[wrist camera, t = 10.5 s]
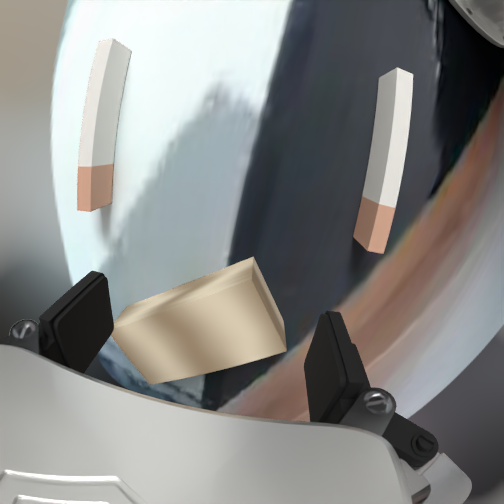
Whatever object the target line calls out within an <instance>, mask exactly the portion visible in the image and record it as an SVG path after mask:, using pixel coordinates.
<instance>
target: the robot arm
mask: <svg viewBox="0 0 504 504" xmlns="http://www.w3.org/2000/svg"><path fill="white" fill-rule="evenodd" d="M449 2H450V3H451V4H452V5H453V7H454V8H455V9H456V10H457V11H458V12H459V14H460V15H461V16H462V17H463V18H464V19H465V20H466V21H467V22H468V23H469V24H470V25H471V26H472V27H473V28H474V29H475V30H476V31H477V32H478V33H479V34H481V35H482V36H483V37H484V38H485V39H487V40H488V41H490V42H491V43H493V44H494V45H496V46H498V47H501V48H504V0H449ZM39 319H40V324H39V325H38V324H37V323H36V322H35V321H34V320H30V319H24V320H21V321H18V322H17V323H15V324H14V325H13V326H12V328H11V330H10V335H9V336H6V337H1V338H0V504H462V503H463V502H464V501H465V499H466V498H467V497H468V495H469V494H470V491H471V487H472V484H471V481H470V479H469V478H468V476H466V474H465V473H463V472H462V471H461V469H459V468H458V467H457V466H456V465H455V464H454V463H453V462H452V461H451V460H450V459H449V458H448V457H447V456H446V455H445V454H444V453H442V454H441V455H440V454H439V453H438V442H437V440H436V438H435V437H434V436H433V435H432V434H431V433H429V432H428V431H426V430H424V429H423V428H421V427H419V426H417V425H416V424H414V423H412V422H411V421H409V420H407V419H406V418H404V417H402V416H401V415H399V414H397V413H396V412H395V410H396V402H395V399H394V397H393V396H392V395H391V394H390V393H388V392H387V391H386V390H383V389H381V388H371V387H370V384H369V381H368V378H367V375H366V372H365V369H364V366H363V364H362V361H361V358H360V355H359V353H358V350H357V347H356V345H355V344H352V343H351V340H350V337H349V334H348V332H347V329H346V326H345V324H344V321H343V318H342V316H341V313H340V312H333V311H326V313H325V314H321V316H320V318H319V321H318V324H317V327H316V330H315V333H314V336H313V339H312V342H311V345H310V348H309V351H308V353H307V356H306V359H305V363H304V371H305V379H306V387H307V395H308V404H309V413H310V422H306V421H290V420H278V419H268V418H258V417H250V416H242V415H235V414H228V413H222V412H216V411H210V410H205V409H200V408H195V407H190V406H186V405H181V404H177V403H173V402H169V401H165V400H161V399H157V398H153V397H150V396H146V395H143V394H139V393H136V392H133V391H130V390H127V389H123V388H120V387H117V386H114V385H112V384H109V383H106V382H103V381H100V380H97V379H95V378H92V377H90V376H87V375H84V372H85V371H86V369H87V368H88V367H89V365H90V363H91V362H92V361H93V359H94V358H95V356H96V355H97V354H98V352H99V351H100V349H101V348H102V346H103V345H104V344H105V342H106V341H107V339H108V338H109V337H110V335H111V334H112V332H113V330H114V322H113V316H112V310H111V303H110V296H109V288H108V280H107V278H106V277H105V275H104V274H103V273H100V272H95V271H91V272H90V273H89V274H87V275H86V276H85V277H84V278H83V279H81V280H80V281H79V282H78V283H77V284H76V285H74V286H73V287H72V288H71V289H70V290H69V291H68V292H67V293H65V294H64V295H63V296H62V297H61V298H60V299H59V300H57V301H56V302H55V303H54V304H53V305H52V306H51V307H50V308H49V309H48V310H46V311H45V312H44V314H42V315H41V316H40V317H39Z"/></svg>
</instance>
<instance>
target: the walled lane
mask: <svg viewBox="0 0 504 504" xmlns="http://www.w3.org/2000/svg"><path fill="white" fill-rule="evenodd" d="M131 52H132V51H131V50H130V49H128V48H127V47H125V46H124V45H122V44H121V43H119V42H118V41H116V40H115V39H108V40H103V41H99V43H98V46H97V50H96V54H95V57H94V61H93V65H92V70H91V74H90V79H89V84H88V89H87V94H86V100H85V106H84V112H83V119H82V127H81V136H80V146H79V160H78V183H77V210H80V211H89V212H91V211H93V210H96V209H98V208H101V207H103V206H106V205H108V204H111V203H112V183H113V166H114V153H115V143H116V134H117V126H118V118H119V111H120V105H121V99H122V93H123V88H124V83H125V78H126V73H127V68H128V64H129V60H130V56H131ZM412 89H413V74H411V73H409V72H406V71H404V70H402V69H399V68H396V69H394V70H392V71H390V72H389V73H387V74H385V75H383V76H382V77H380V78H379V84H378V95H377V105H376V114H375V122H374V130H373V137H372V144H371V150H370V156H369V162H368V168H367V174H366V179H365V184H364V189H363V194H362V199H361V204H360V209H359V213H358V218H357V222H356V226H355V230H354V235H353V237H354V238H355V239H356V240H357V241H358V242H359V243H360V244H361V245H362V246H363V247H364V248H365V249H366V250H367V251H372V252H377V253H384V250H385V246H386V243H387V239H388V236H389V232H390V228H391V224H392V220H393V216H394V211H395V207H396V203H397V198H398V193H399V188H400V183H401V178H402V173H403V167H404V161H405V155H406V148H407V141H408V133H409V125H410V115H411V104H412Z"/></svg>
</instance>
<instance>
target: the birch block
mask: <svg viewBox="0 0 504 504" xmlns="http://www.w3.org/2000/svg"><path fill="white" fill-rule="evenodd" d="M111 336H112V337H113V339H114V340H115V342H116V343H117V344H118V346H119V347H120V348H121V350H122V351H123V352H124V353H125V355H126V356H127V357H128V359H129V360H130V361H131V362H132V364H133V365H134V366H135V367H136V368H137V370H138V371H139V372H140V373H141V374H142V376H143V377H144V378H145V379H146V380H147V381H148V383H149V384H150V385H151V384H157V383H162V382H168V381H173V380H178V379H183V378H188V377H192V376H197V375H201V374H206V373H210V372H214V371H218V370H222V369H226V368H230V367H234V366H238V365H241V364H245V363H249V362H252V361H256V360H259V359H263V358H266V357H269V356H272V355H276V354H279V353H282V352H285V351H287V349H286V340H285V330H284V321H283V319H282V317H281V315H280V313H279V310H278V308H277V306H276V304H275V302H274V300H273V298H272V295H271V293H270V291H269V289H268V287H267V285H266V283H265V280H264V278H263V276H262V274H261V272H260V270H259V268H258V265H257V263H256V261H255V259H254V257H251V258H249V259H246V260H244V261H241V262H239V263H236V264H234V265H231V266H229V267H226V268H224V269H221V270H219V271H216V272H214V273H211V274H209V275H206V276H203V277H201V278H198V279H196V280H193V281H191V282H188V283H186V284H183V285H181V286H178V287H176V288H173V289H170V290H168V291H165V292H163V293H160V294H158V295H155V296H153V297H150V298H148V299H145V300H142V301H140V302H137V303H135V304H132V305H130V306H127V307H126V308H125V309H124V310H123V312H122V313H121V314H120V315H119V317H118V318H117V319H116V321H115V322H114V330H113V332H112V334H111Z"/></svg>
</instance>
